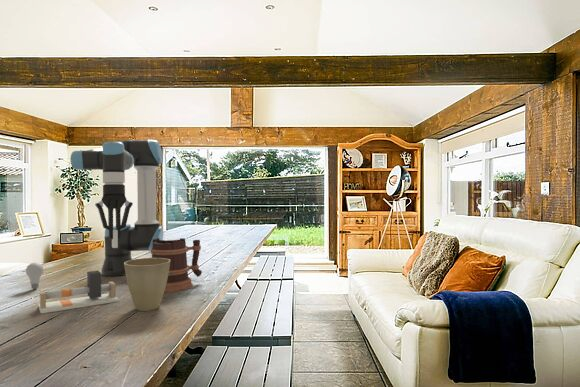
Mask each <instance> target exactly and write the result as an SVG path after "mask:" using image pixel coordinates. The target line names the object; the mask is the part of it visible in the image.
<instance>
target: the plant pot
mask: <svg viewBox="0 0 580 387" xmlns="http://www.w3.org/2000/svg"><path fill="white" fill-rule="evenodd" d="M124 267H125V273H126V275H125V278H126V283H127V286H128V290H129V294H130V296H131V299H132V302H133V305H134V307H135V309H136V310H137V311H139V312H140V311H141V312H149V311H155V310H157V309H159V308H160V305H161V302H162V299H163V297H164V293H165V292H164V291H165V287H166V283H167V279H168V274H169V267H170V260H169V259H165V258H152V257H141V258H135V259H132V260H129V261H126V262H124Z"/></svg>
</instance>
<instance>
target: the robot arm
mask: <svg viewBox="0 0 580 387" xmlns="http://www.w3.org/2000/svg"><path fill="white" fill-rule="evenodd" d="M160 144H161V143H160V142H159V141H158V140H156V139H122V140H119V141H106V142H103V144H102V147H97V148H92V149H87V150H81V149H80V150H73V151H72V152H71V154H70V164H71V167H72V168H73V170H76V171H77V170H78V171H86V170H87V171H90V170H94V171H95V170H96V171H97V170H98V171H99V170H102V183H103V185H102V196H101V200H100V201H98V202H96V203H95V204H94V206H95V207H96V209H97V211H98V213H99V214H98V215H99V217H100V221H101V224H102V227H103V229H105V230H104V237H103V238H104V260H103V263H102V267H101V270H100V273H101V276H104V277H105V276H106V277H118V276H119V277H121V276H126V273H125V267H124V262H126V261H129V260H133V258H132V252H151V251H150V250H151V249H152V245H153V239H155V238H159V240H164V228H163V226H162V225H160V222H159V220H157V173H156V172H157V170H158V169H159V168H160V165H161V164H162V163H163V159H164V158H163V151H162V147H161V145H160ZM132 167H133V168H134V169H135V170H136V171H137V175H136V176H137V179H136V181H137V182H136V186H137V188H136V189H137V190H136V191H137V220H136V221H135V222H134V224H133V225H134V226H132V225H131V223H128V222H127V221H128V219H129V214H130V210H131V208H132V206H133V205H134V203H133V202H130V201H129V200H128V199H127V197H126V185H125V183H126V177H125V175H126V174H125V171H127V170H131V168H132ZM104 206H105V207H106V208H107V213H108V215H107V219H108V220H107V219H106V215H105V211H104V208H103V207H104ZM123 206H125V208H124V211H123V215H122V218H121V210H122V207H123ZM114 212H115V225H114Z"/></svg>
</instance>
